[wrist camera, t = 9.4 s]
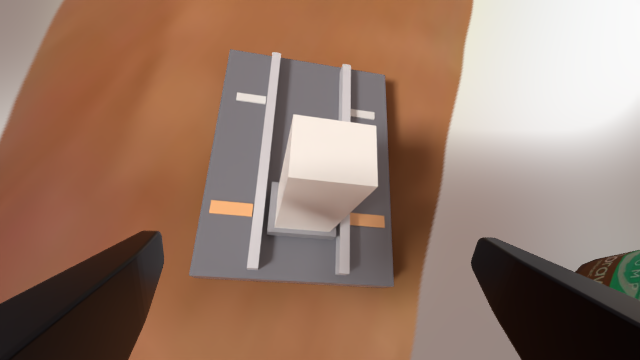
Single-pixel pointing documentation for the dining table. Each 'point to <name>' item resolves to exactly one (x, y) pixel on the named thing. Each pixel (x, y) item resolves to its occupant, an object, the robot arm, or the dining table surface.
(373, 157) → the fader
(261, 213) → the grey slider track base
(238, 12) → the dining table surface
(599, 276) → the food container
